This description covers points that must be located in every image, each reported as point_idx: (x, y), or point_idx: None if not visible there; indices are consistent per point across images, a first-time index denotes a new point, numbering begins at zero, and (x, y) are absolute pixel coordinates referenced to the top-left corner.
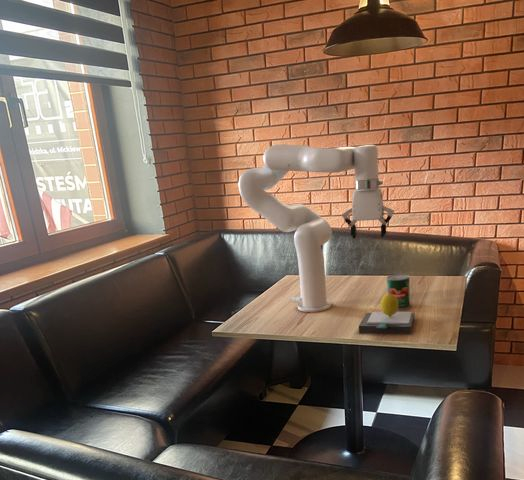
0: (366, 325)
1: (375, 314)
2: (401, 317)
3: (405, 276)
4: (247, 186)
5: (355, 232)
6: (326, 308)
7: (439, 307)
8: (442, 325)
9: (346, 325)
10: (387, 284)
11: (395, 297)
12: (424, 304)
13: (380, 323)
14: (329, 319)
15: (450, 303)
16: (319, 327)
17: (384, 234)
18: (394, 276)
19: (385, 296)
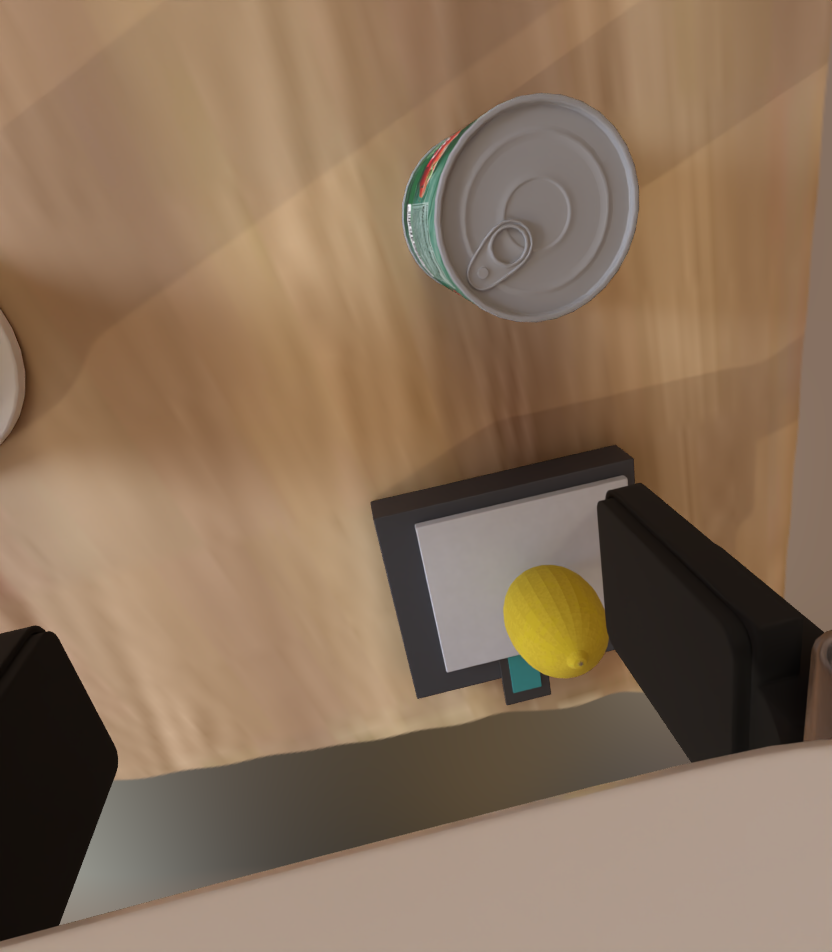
0: (450, 684)
1: (448, 565)
2: (590, 573)
3: (596, 155)
4: None
5: (41, 768)
6: (21, 395)
7: (724, 177)
8: (746, 485)
9: (307, 604)
10: (447, 278)
11: (607, 644)
12: (628, 121)
13: (509, 657)
14: (165, 549)
15: (788, 63)
16: (188, 664)
17: (644, 486)
18: (494, 168)
19: (556, 673)
